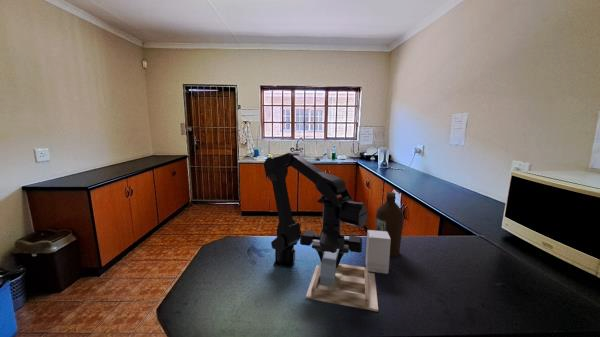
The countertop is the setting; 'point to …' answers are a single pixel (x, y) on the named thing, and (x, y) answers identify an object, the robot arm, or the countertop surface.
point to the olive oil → (391, 222)
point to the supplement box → (378, 251)
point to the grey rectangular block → (328, 268)
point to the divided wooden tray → (346, 288)
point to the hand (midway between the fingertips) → (329, 266)
